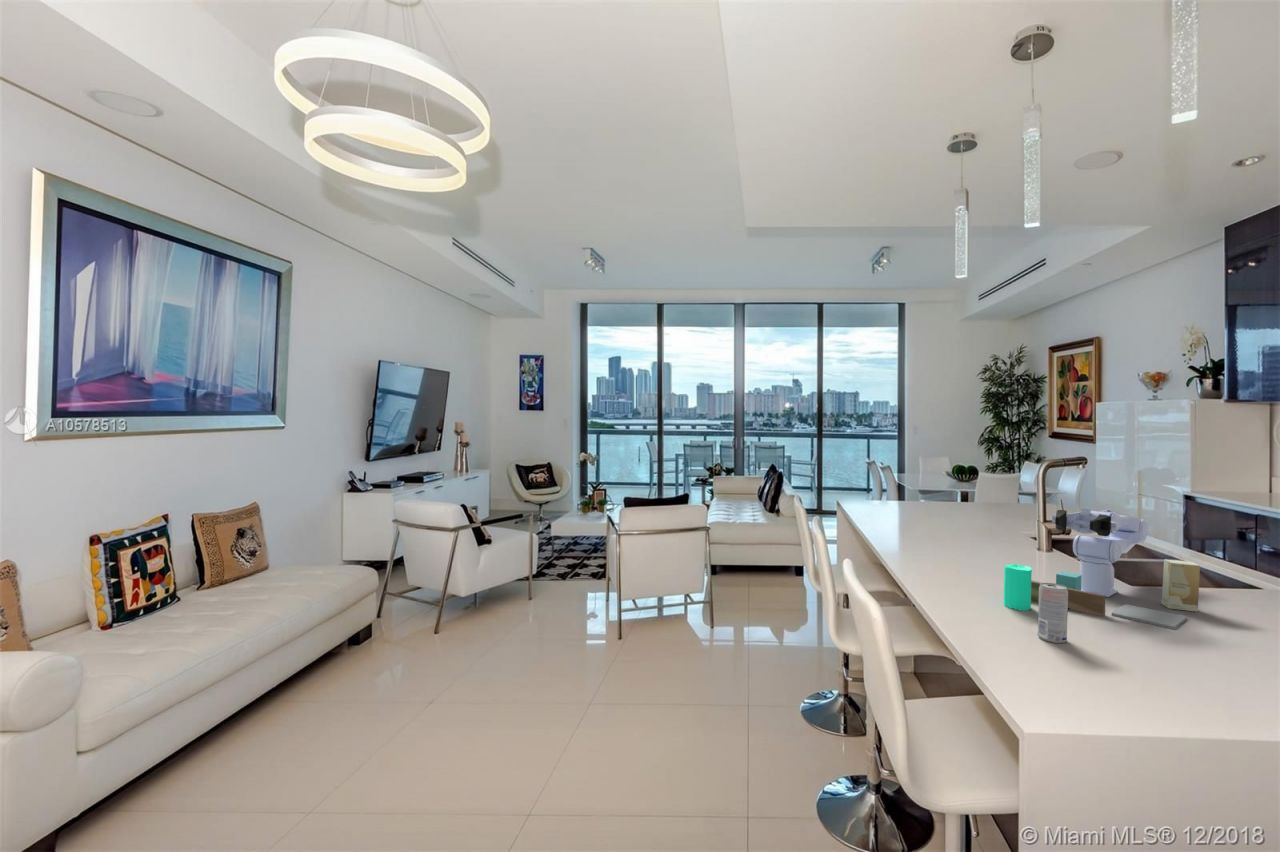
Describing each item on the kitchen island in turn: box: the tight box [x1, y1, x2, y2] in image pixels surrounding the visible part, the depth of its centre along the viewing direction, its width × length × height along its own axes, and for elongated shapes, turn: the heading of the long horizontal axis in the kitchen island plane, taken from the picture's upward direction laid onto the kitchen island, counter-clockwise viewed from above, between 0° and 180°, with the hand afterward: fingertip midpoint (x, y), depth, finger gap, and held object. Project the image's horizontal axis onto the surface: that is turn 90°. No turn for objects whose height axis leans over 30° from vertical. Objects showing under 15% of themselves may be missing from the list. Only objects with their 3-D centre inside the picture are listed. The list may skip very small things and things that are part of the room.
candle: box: [1003, 563, 1033, 611], centre depth 155 cm, size 6×6×12 cm
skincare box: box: [1161, 558, 1201, 613], centre depth 155 cm, size 6×4×12 cm
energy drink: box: [1037, 582, 1069, 644], centre depth 132 cm, size 5×5×12 cm
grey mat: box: [1111, 603, 1187, 630], centre depth 148 cm, size 12×12×1 cm
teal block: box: [1055, 571, 1082, 590], centre depth 161 cm, size 4×4×7 cm
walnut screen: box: [1031, 579, 1107, 617], centre depth 156 cm, size 2×20×5 cm, turn 37°
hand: (1073, 523), depth 157 cm, fingers open, 7 cm apart
